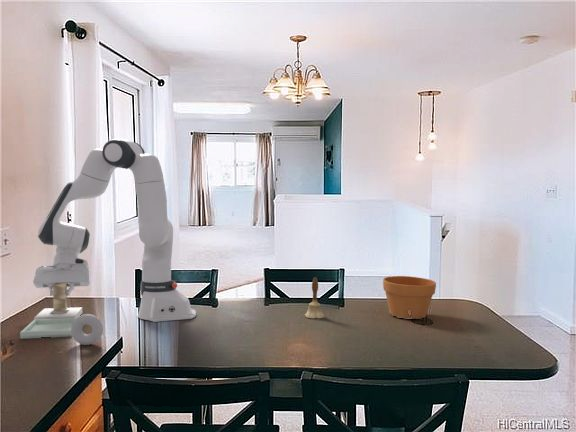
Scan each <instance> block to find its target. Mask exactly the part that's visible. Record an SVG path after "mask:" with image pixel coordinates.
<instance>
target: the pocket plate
mask: <svg viewBox="0 0 576 432" xmlns="http://www.w3.org/2000/svg"><path fill="white" fill-rule="evenodd" d="M81 314H82V315H83V306H82V307H80V306H79V307H67V309H66V311H56V312H54V307H52V308H51V307H50V308H49V307H47V308H43V309H42V310H41V311H40V312H39V313H37V315H35V316H34V317H33V320H40V319H69V318H77V317H79V316H80V315H81Z"/></svg>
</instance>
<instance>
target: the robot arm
mask: <svg viewBox="0 0 576 432" xmlns="http://www.w3.org/2000/svg"><path fill="white" fill-rule="evenodd" d="M118 168H119V169H124V170H128V169H129V170H130V171H131V172H132V174H133V179H134V184H135V192H136V193H135V194H136V198H137V199H136V201H137V215H138V216H137V219H138V235H139V239H140V241H141V242H142V243H143V245H144V246H143V255H142V259H141V263H142V264H141V270H142V271H141V281H140V296H141V300H140V306H139V308H138V309H139V310H138V312H137V313H138V314H137V318H139V319H141V320H145V321H146V320H147V321H150V322H153V323H155V322H156V323H157V322H158V323H159V322H169V321H178V320H180V321H181V320H191V319H195V317H196V316H197V311H196V310H195V309H194V308H192V306H191V303H190V300H189V298H188V297H187V296H186V295H185V294H183V293H181V291H179V290H178V289H177V288H178V283H177V282H176V281H175V280H173V279H172V255H173V241H174V227H173V224H172V222H171V221H170V220H169V219H168V200H167V193H166V185H165V179H164V175H163V174H164V173H163V170H162V165H161V163H160V160H159V158H158V157H157V156H156V155H154V154H151V153H146V151H145V149H144V148H143V146H141V144H139V143H138V142H136V141H135V142H134V141H131V140H129V139H125V138H112V139H110V140H109V141H106V143H104V145H103V147H102V148H94V149H92V150H91V151H90V152H89V153H88V155H87V157H86V159H85V160H84V163H83V165H82V166H81V170H80V172H79V175H78V176H77V178H76V179H74V180H72V181H70V182H68V183H67V184H66V185H64V187H63V189H62V191H61V192H60V194H59V195H58V197H57V199H56V201H55V202H54V204H53V206H52V207H51V210H50V211H49V213H48V214H47V216H46V218H44V219H45V220H44V221H43V222H42V223H41V225H40V227H39V228H38V232H37V233H38V234H37V237H38V239H39V241H41V243H42V244H43V245H50V246H56V247H55V253H56V254H55V256H54V259H53V264H52V265H41V266H39V267H38V268H36V269H35V273H34V274H35V276H34V277H33V280H32V282H33V286H34V287H35V288H36V289H43V288H44V289H45V288H46V289H47V288H48V290H49V296H50V297H53V285H54V284H55V283H67V290H66V292H65V295H66V296H67V297H69V296H71V292H72V291H73V290H74V289H75V287H88V286H90V284H91V273H90V266H89V263H88V261H87V259H83V258H79V255H80V254H82V253H83V252H84V251H86V249H88V246H89V244H90V236H91V235H90V231H89V230H88V228H86V227H84V226H81V225H77V224H72V223H68V222H64V221H61V220H60V218H61V217H62V215H63V213H64V211H65V210H66V208H67V206H68V205H69V204H70V203H71V202H74V201H76V200H86V199H88V200H89V199H95V198H98V197H100V196H102V195H103V194H104V193H105V192H106V191H107V188H108V186H109V183H110V181H111V178H112V174H113V172H114V171H115V169H118Z"/></svg>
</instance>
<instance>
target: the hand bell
mask: <svg viewBox="0 0 576 432" xmlns="http://www.w3.org/2000/svg"><path fill="white" fill-rule="evenodd" d="M311 290H312V302H310V303H308V308H307V311H306V313H305V314H304V315H305V316H306V317H308V318H322V317H324V318H325V315H324V314H323V313H322V309H321V304H320V303H319V302H318V291H319V281H318V278H317V277H313V279H312V282H311ZM308 318H307V319H308Z"/></svg>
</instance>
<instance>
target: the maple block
mask: <svg viewBox="0 0 576 432" xmlns="http://www.w3.org/2000/svg"><path fill="white" fill-rule="evenodd" d="M52 290H53V296H52V297H53V298H52V299H53V300H52V302H53V304H52V308H54V312H56V311H66V309H67V308H68V296H66V295H65V292H66V290H68V287H67V283H55V284H54V285H53V289H52Z"/></svg>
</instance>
